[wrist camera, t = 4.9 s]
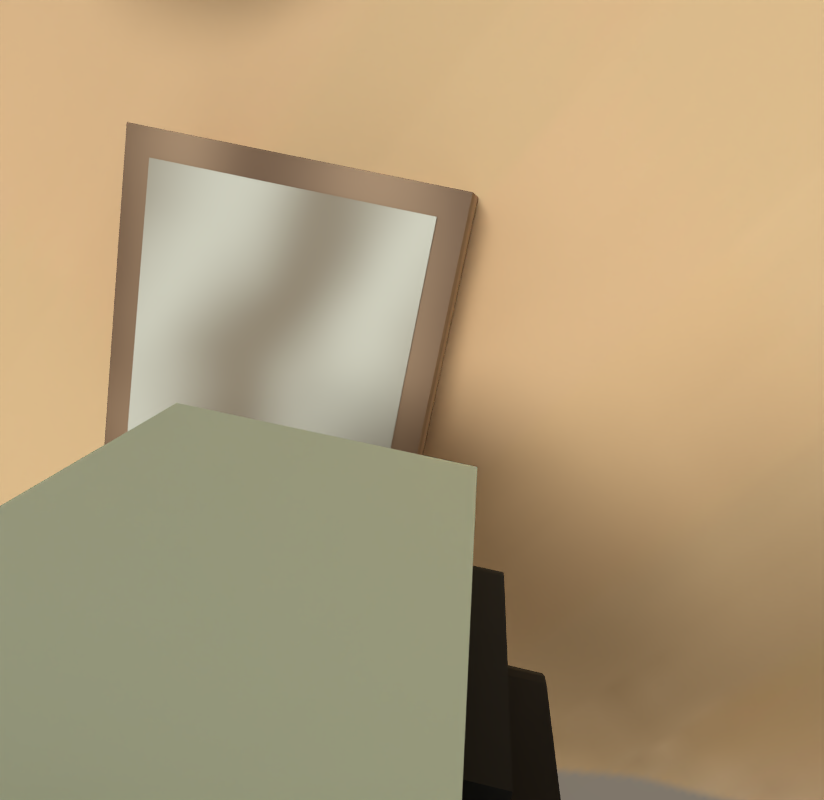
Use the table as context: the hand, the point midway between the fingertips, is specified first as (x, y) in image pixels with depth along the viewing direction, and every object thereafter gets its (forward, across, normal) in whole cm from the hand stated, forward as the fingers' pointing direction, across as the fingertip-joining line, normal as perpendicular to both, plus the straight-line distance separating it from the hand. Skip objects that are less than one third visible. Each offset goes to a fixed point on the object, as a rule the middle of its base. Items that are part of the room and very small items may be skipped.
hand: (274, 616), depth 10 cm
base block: (+16, +4, -2) cm, 17 cm away
